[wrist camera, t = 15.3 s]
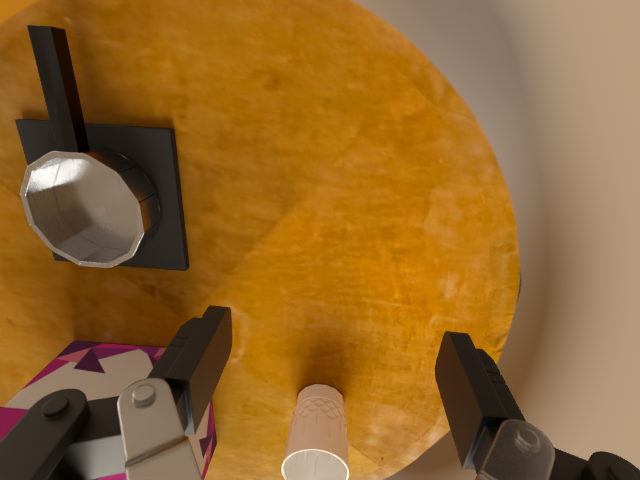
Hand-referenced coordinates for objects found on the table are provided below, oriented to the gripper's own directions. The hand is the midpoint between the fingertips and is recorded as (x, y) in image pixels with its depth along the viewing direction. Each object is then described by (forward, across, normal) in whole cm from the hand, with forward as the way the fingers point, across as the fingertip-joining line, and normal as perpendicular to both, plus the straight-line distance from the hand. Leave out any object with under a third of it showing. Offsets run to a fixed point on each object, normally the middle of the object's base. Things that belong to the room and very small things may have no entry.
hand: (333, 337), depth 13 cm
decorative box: (+25, +25, +35) cm, 50 cm away
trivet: (+25, +25, +5) cm, 36 cm away
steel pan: (+24, +25, 0) cm, 35 cm away
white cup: (+25, 0, +32) cm, 41 cm away
